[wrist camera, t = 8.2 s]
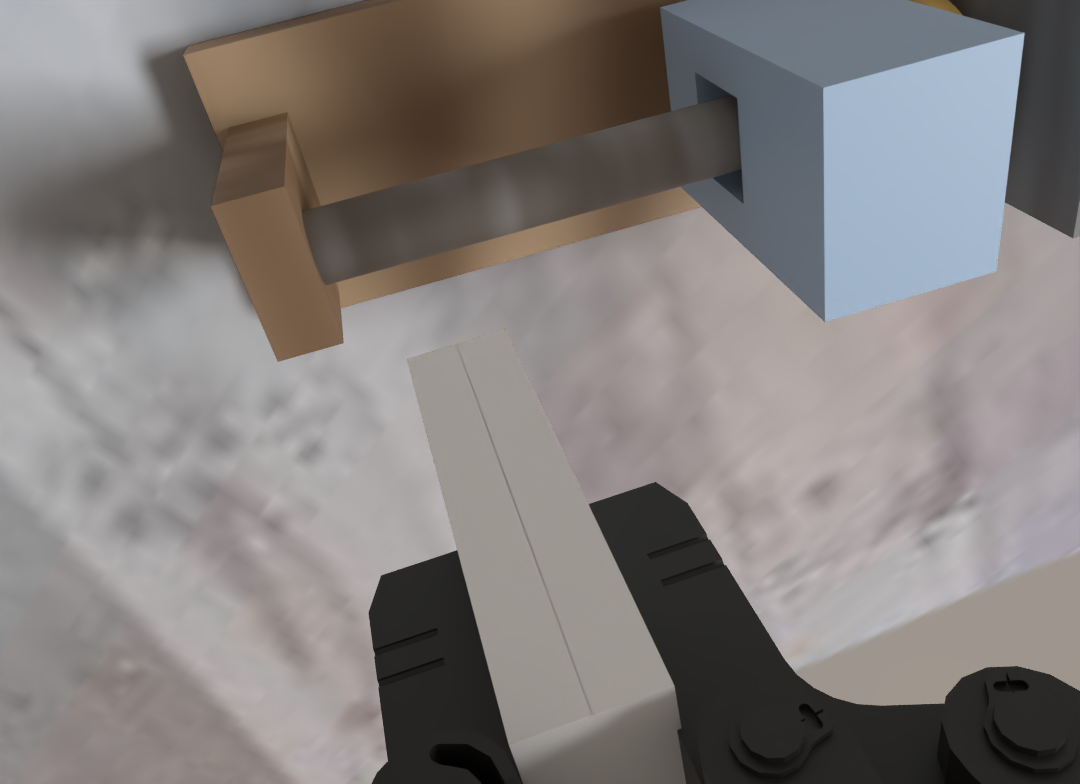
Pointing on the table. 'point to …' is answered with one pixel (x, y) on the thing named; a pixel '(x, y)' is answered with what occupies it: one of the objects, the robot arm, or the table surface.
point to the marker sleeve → (854, 139)
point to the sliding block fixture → (506, 140)
